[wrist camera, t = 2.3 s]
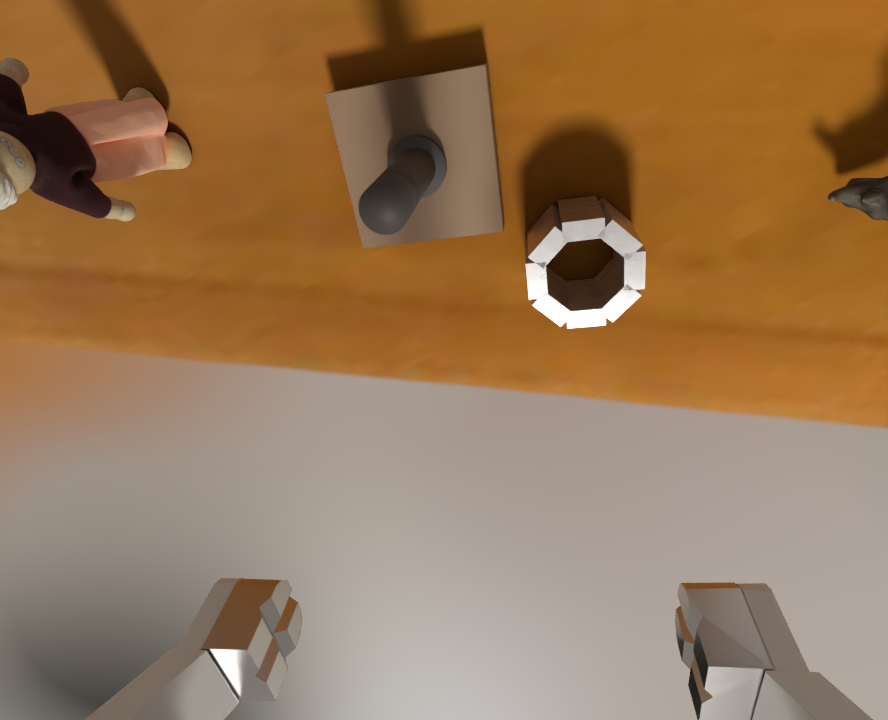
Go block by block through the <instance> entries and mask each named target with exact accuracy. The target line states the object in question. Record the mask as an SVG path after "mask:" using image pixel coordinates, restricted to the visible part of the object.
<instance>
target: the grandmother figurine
mask: <svg viewBox="0 0 888 720" xmlns="http://www.w3.org/2000/svg"><path fill="white" fill-rule="evenodd" d="M28 78H29V72H28V69H27V67H26V66H25V65H24V63H22V62H21V61H19V60H17V59H14V58H6V59H4V60H3V61H2V62H1V63H0V210H1V209H4V208H6V207H8V206H9V205H11V204H14V203H15V202H16V201H17V195H19V194H21V193H23V192H24V191H26V190H27V189H28V188H30V189H31V190H32V191H33V192H34V193H36V194H38V195H40V196H42V197H44V198H45V199H48V200H50V201H53V202H55V203H57V204H60V205H63V206H65V207H68V208H71V209H73V210H76V211H79V212H82V213H84V214H87V215H90V216H92V217H95V218H108V219H119V220H121V221H130V220H132V219H133V218H134V217H135V214H136V210H135V207H134V206H133V205H132V203H130V202H128V201H125V200H117V199H116V198H112V197H107V196H106V195H104V194H103V193H102V191H101V190H100V189H99V188H98V187H97V186H96V185H95V184H94V183H93V182H100V181H108V180H116V179H123V178H128V177H134V176H138V175H142V174H145V173H148V172H151V171H154V170H159V169H183V168H186V167H187V166H188V165H189V164H190V162H191V160H192V156H191V151H190V148H189V146H188V144H187V142H186V141H185V140H184V139H183V138H182V137H181V136H180V135H178V134H176V133H174V132H167V133H165V132H166V129H167V126H168V118H167V116H166V113H165V110H164V108H163V107H162V105H161V104H160V103H159V102H158V101H157V100H156V99H155V98H154V96H153V95H152V94H151V93H150V92H149V91H147V90H146V89H144V88H140V87H136V88H133V89H131V90H130V91H129V92H128V93H127V94H126V96H125V97H124V99H123V100H122V101H119V100H98V101H88V102H81V103H76V104H72V105H65V106H59V107H53V108H50V109H48V110H46V111H44V112H43V113H41V114H35V115H28V114H27V110H26V104H25V101H24V97H23V93H22V90H21V88H22V84H25V83H26V82H27V80H28Z"/></svg>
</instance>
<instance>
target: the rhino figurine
mask: <svg viewBox="0 0 888 720" xmlns="http://www.w3.org/2000/svg"><path fill="white" fill-rule="evenodd" d="M828 199H829V200H830V201H838V202H842V203H843V205H845V206H847V207H852V208H856V209H859V210H861V211H862V212H864V213H866V214H867V215H868V216H869V217H871V218H872V219H875V220H886V221H888V176H886V177H883V178H854V179H851V180H850V181H849V182H848V184H847V185H846V186H845V187H843V188H840V189H837V190H835V191H833V192H831V193H830V194H829V195H828Z"/></svg>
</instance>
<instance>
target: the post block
mask: <svg viewBox="0 0 888 720" xmlns="http://www.w3.org/2000/svg"><path fill="white" fill-rule="evenodd" d="M325 97H326V101H327V105H328V109H329V113H330V117H331V121H332V125H333V129H334V133H335V137H336V141H337V145H338V149H339V153H340V157H341V161H342V165H343V169H344V173H345V177H346V181H347V185H348V189H349V193H350V197H351V201H352V205H353V209H354V213H355V217H356V221H357V225H358V229H359V233H360V237H361V241H362V245H363V248H369V247H378V246H386V245H395V244H403V243H412V242H420V241H428V240H437V239H445V238H454V237H462V236H471V235H479V234H488V233H496V232H504V214H503V205H502V196H501V186H500V177H499V168H498V158H497V149H496V140H495V130H494V121H493V112H492V102H491V93H490V84H489V74H488V65H487V63H485V64H480V65H474V66H469V67H463V68H458V69H452V70H446V71H441V72H435V73H430V74H424V75H419V76H413V77H408V78H402V79H397V80H391V81H386V82H380V83H375V84H369V85H364V86H358V87H353V88H347V89H341V90H336V91H332V92H329V93H326V94H325Z"/></svg>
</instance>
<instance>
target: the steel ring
mask: <svg viewBox="0 0 888 720" xmlns="http://www.w3.org/2000/svg"><path fill="white" fill-rule="evenodd" d="M600 238H601V239H602V240H603V241H604V242H606V243H607V244H608V245H609V246H611V247H612V248H613V259H612V260H611V261H610V262H609V263H608V264H607V265H606V266H605V267H604V268H603V269H602V270H601V271H600V272H599V273H598V274H597V275H596V276H595V277H594V278H593V279H582V280H572V281H565V280H564V279H562V278H561V277H560V276H558V275H557V274H556V273H555V272H553V271H552V270H551V269H549V268H548V267H547V266H546V265H547V264H548V263H549V262H550V261H551V260H552V259H553V257H554V256H555V255H556V254H557V253H558V252H559V251H560V250H561V249H562V248H563V247H564V245H565V244H566V243H567V242H573V241H582V240H591V239H600ZM645 265H646V250H645V249H644V247H643V244H642V242H641V240H640V238H639V237H638V235H637V233H636V231H635V229H634V227H633V226H632V224H631V222H630V220H629V219H628V218H627V217H625V216H624V215H623V214H622V213H621V212H619V211H618V210H617V209H616V208H615V207H613V206H612V205H611V204H610V203H609V202H607V201H606V200H605V199H604V198H603V197H602V198H601V199H600V200H599V201H598V200H597V198H596V195H595V196H587V197H579V198H572V199H564V200H558V209H557V208H556V207H555V206H554V205H552V204H551V205H550V206H549V207H548V208H547V210H546V211H545V212H544V213H543V214H542V215H541V217H540V218H539V219H538V220H537V221H536V222H535V224H534V225H533V226H532V227H531V228H530V229H529V231H528V238H526V274H527V285H528V296H529V300H531V299H532V306H534V307H535V308H536V309H538V310H539V311H540V312H542V313H543V314H544V315H546V316H547V317H548V318H550V319H551V320H552V321H554V322H555V323H557V324H558V325H559V326H562V325H563V324H564V323H565V322H567V328H579V327H591V326H604V325H606V318H608V319H609V320H610V321H612V322H614V321H615V320H616V319H617V318H618V317H619V316H620V315H621V314H622V313H623V312H624V311H625V310H627V309H628V308H629V307H630V306H631V305H632V304H633V303H634V302H635V301H636V300H637V299H638V298H639V297H640V296H642V295H641V293H640V291H639V289H645Z"/></svg>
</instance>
